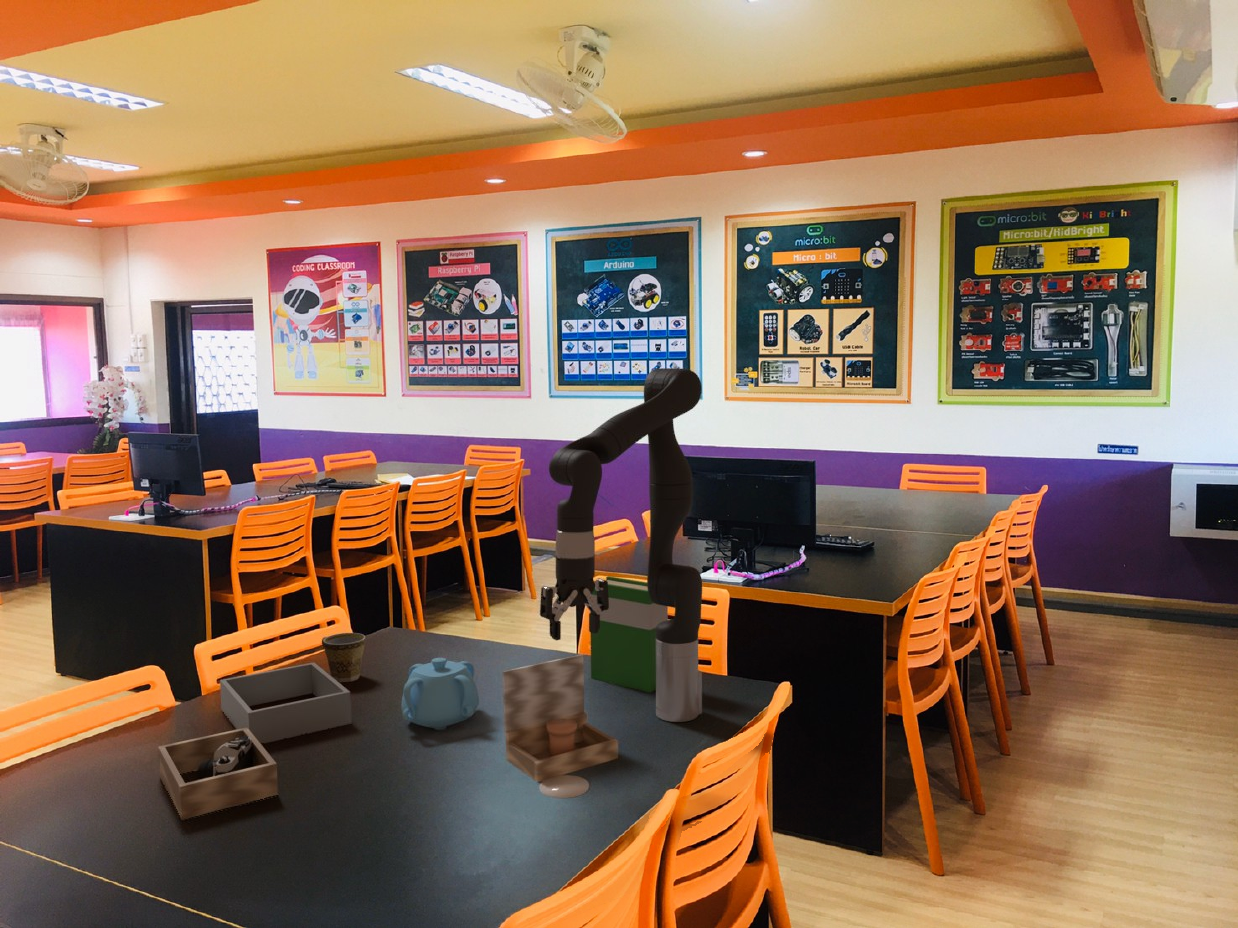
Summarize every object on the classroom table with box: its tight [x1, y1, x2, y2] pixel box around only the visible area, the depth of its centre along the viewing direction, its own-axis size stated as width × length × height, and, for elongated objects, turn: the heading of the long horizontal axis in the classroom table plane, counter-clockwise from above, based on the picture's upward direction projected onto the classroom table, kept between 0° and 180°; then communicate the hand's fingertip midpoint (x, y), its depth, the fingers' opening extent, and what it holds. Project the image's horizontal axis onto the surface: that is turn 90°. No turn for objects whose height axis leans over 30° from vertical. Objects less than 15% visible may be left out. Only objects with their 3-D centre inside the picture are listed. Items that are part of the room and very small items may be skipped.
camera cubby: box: [157, 727, 279, 821], centre depth 175 cm, size 16×21×6 cm
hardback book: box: [589, 575, 669, 693], centre depth 229 cm, size 18×7×24 cm, turn 53°
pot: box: [547, 718, 577, 757], centre depth 184 cm, size 6×6×7 cm
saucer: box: [538, 774, 590, 799], centre depth 173 cm, size 9×9×1 cm
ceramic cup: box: [321, 632, 366, 683], centre depth 235 cm, size 13×10×10 cm
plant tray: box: [219, 662, 353, 745], centre depth 209 cm, size 21×25×7 cm
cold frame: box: [502, 653, 619, 783], centre depth 184 cm, size 18×14×18 cm
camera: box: [196, 736, 253, 781], centre depth 175 cm, size 13×8×9 cm, turn 5°
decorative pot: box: [400, 657, 480, 731], centre depth 206 cm, size 16×16×14 cm
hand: (574, 636), depth 184 cm, fingers open, 8 cm apart
